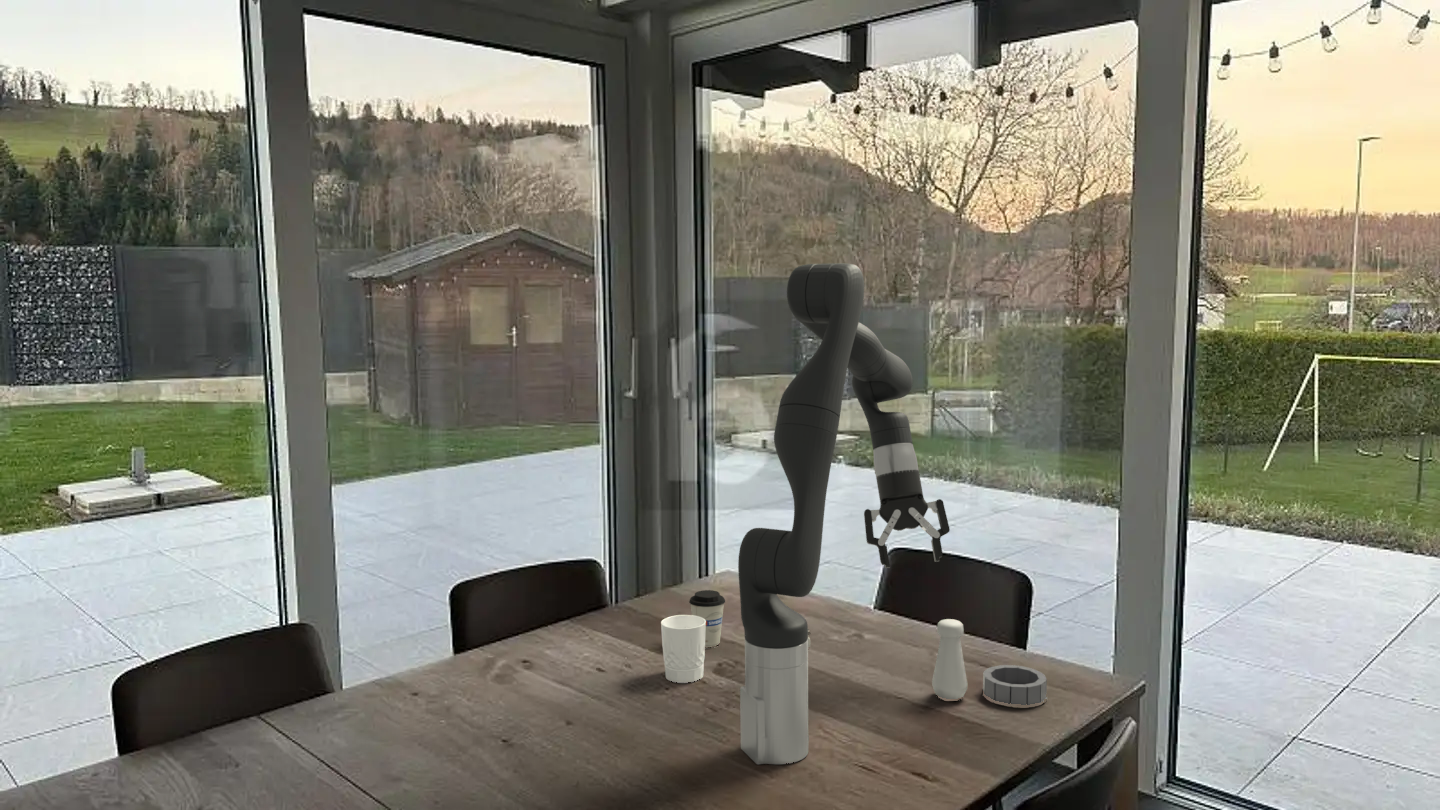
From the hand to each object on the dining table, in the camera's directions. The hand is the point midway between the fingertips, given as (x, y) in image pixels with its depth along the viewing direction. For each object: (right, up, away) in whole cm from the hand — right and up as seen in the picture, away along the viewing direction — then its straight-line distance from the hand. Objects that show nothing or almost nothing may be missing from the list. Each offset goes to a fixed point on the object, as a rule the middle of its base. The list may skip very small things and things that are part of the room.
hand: (912, 564), depth 180 cm
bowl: (+16, -21, -6) cm, 27 cm away
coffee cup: (-36, -19, +21) cm, 45 cm away
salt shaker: (+5, -21, -7) cm, 23 cm away
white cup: (-40, -21, +4) cm, 45 cm away
